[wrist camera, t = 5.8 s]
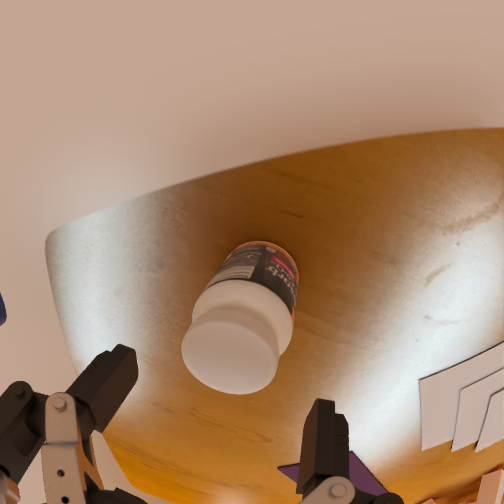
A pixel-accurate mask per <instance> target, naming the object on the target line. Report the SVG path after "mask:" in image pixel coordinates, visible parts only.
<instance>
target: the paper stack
mask: <svg viewBox="0 0 504 504" xmlns="http://www.w3.org/2000/svg"><path fill="white" fill-rule="evenodd" d="M419 386H420V401H421V427H422V451H423V450H426V449H429V448H431V447H434V446H437V445H439V444H442V443H445V442H447V441H450V440H452V439H454V440H453V445H452V450H451V452H453V451H456V450H458V449H460V448H463V447H465V446H467V445H469V444H472V443H474V442H476V441H478V440H479V441H478V444H477V447H476V450H475V453H476V452H478V451H480V450H482V449H484V448H486V447H488V446H490V445H492V444H494V443H496V442H498V441H500V440H501V439H503V438H504V342H503V343H501V344H499V345H498V346H496V347H494V348H492V349H490V350H488V351H486V352H484V353H482V354H480V355H478V356H476V357H474V358H472V359H470V360H467V361H465V362H463V363H461V364H459V365H456V366H454V367H452V368H449V369H447V370H445V371H442V372H440V373H437V374H435V375H432V376H430V377H427V378H425V379H422V380H419Z"/></svg>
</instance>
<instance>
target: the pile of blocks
mask: <svg viewBox="0 0 504 504" xmlns="http://www.w3.org/2000/svg"><path fill="white" fill-rule="evenodd" d="M503 492H504V470H503V469H501V470H498V471H495V472H492V473H489V474H485V475H482V480H481V484H480V489H479V493H478V497H477V500H476V504H504V495H503ZM422 504H435V502H434V500H433V499H432V498H431V499H429V500H427V501H425V502H424V503H422ZM459 504H466V502H462V503H459ZM467 504H474V503H471V502H468V503H467Z"/></svg>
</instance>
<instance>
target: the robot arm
mask: <svg viewBox="0 0 504 504" xmlns="http://www.w3.org/2000/svg"><path fill="white" fill-rule="evenodd" d="M137 379H138V365H137V358H136V352H135V350H134V349H132V348H130V347H127V346H125V345H122V344H118V345H117V346H116V347H115V348H114V349H113V350H112V351H111V352H110V351H107V350H106V351H104V352H103V353H101V354H99V355H97V356H96V357H95V358H94V360H93V361H92V362H91V364H89V365H88V366H87V368H86V370H84V371H83V372H82V373H81V374H80V376H79V377H78V378H77V379H76V380H75V381H74V383H73V384H72V385H71V386H70V387H69V388H68V389H67V391H66V392H57V393H54V394H52V395H50V396H48V395H44V394H41V393H37V392H34V391H33V390H32V388H31V386H30V385H29V384H28V383H27V382H24V381H17V382H14V383H12V384H11V385H10V386H9V387H8V388H7V389H6V391H5V392H4V393H3V394H2V395H1V396H0V504H17V502H19V501H20V495H19V489H18V486H17V485H18V483H19V482H20V480H21V479H22V477H23V475H24V474H25V472H26V470H27V469H28V467H29V466H30V464H31V462H32V461H33V459H34V458H35V456H36V455H37V453H38V451H39V450H40V448H41V457H42V469H43V479H44V487H45V494H46V500H47V503H44V504H147V503H146V502H145V501H144V500H142V499H140V498H139V497H137V496H134V495H132V494H130V493H128V492H125V491H123V490H121V489H119V488H116V489H115V490H114V491H111V490H104V488H103V484H102V480H101V478H100V476H99V473H98V471H97V466H96V461H95V455H94V450H93V444H92V438H91V433H92V432H93V430H96V431H98V432H100V433H103V431H104V429H105V428H106V426H107V425H108V423H109V422H110V420H111V419H112V418H113V416H114V415H115V413H116V412H117V410H118V409H119V407H120V406H121V404H122V403H123V401H124V400H125V398H126V397H127V395H128V394H129V392H130V391H131V389H132V388H133V386H134V385H135V383H136V381H137ZM348 435H349V428H348V423H347V421H346V419H345V417H344V415H343V414H337V413H335V402H334V401H332V400H325V399H318V398H317V399H316V400H315V402H314V404H313V406H312V408H311V410H310V412H309V414H308V416H307V418H306V421H305V424H304V429H303V438H302V447H301V456H300V465H299V473H298V480H297V488H296V494H303V498H302V501H301V502H300V503H299V504H404V502H403V500H402V498H401V497H400V496H399V495H397V494H395V493H391V492H387V493H383V494H381V495H379V496H377V495H373V494H370V493H367V492H363V491H361V490H359V489H357V488H356V487H355V486H354V485H353V484H352V482H351V480H350V477H349V445H348V444H349V437H348ZM45 441H46V443H45V444H44V442H45Z"/></svg>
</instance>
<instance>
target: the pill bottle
mask: <svg viewBox="0 0 504 504" xmlns="http://www.w3.org/2000/svg"><path fill="white" fill-rule="evenodd" d="M298 282H299V276H298V270H297V266H296V264H295V262H294V260H293V259H292V257H291V256H290V255H289V254H288V253H287V252H286V251H285V250H284V249H282V248H281V247H279V246H278V245H275V244H273V243H270V242H265V241H252V242H247V243H245V244H242V245H240V246H239V247H237V248H236V249H234V250H233V251H232V252H231V253H230V254H229V256H228V257H227V258H226V259H225V261H224V262H223V264H222V265H221V267H220V268H219V270H218V271H217V272H216V274H215V275H214V276H213V278H212V279H211V281H210V282H209V283H208V285H207V286H206V288H205V289H204V291H203V292H202V294H201V295H200V297H199V298H198V300H197V301H196V303H195V306H194V310H193V315H192V324H191V326H190V327H189V329H188V331H187V333H186V334H185V336H184V339H183V341H182V348H181V351H182V357H183V360H184V363H185V365H186V366H187V368H188V369H189V371H190V372H191V373H192V374H193V375H194V376H195V377H196V378H197V379H198V380H199V381H201V382H202V383H204V384H205V385H207V386H208V387H211V388H213V389H215V390H218V391H221V392H225V393H229V394H248V393H253V392H256V391H259V390H261V389H262V388H264V387H265V386H267V385H268V384H269V383H270V382H271V381H272V379H273V377H274V376H275V373H276V370H277V366H278V361H279V356H280V355H281V354H282V353H283V352H284V351H285V349H286V348H287V346H288V344H289V342H290V340H291V337H292V332H293V325H294V317H295V308H296V300H297V292H298Z"/></svg>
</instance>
